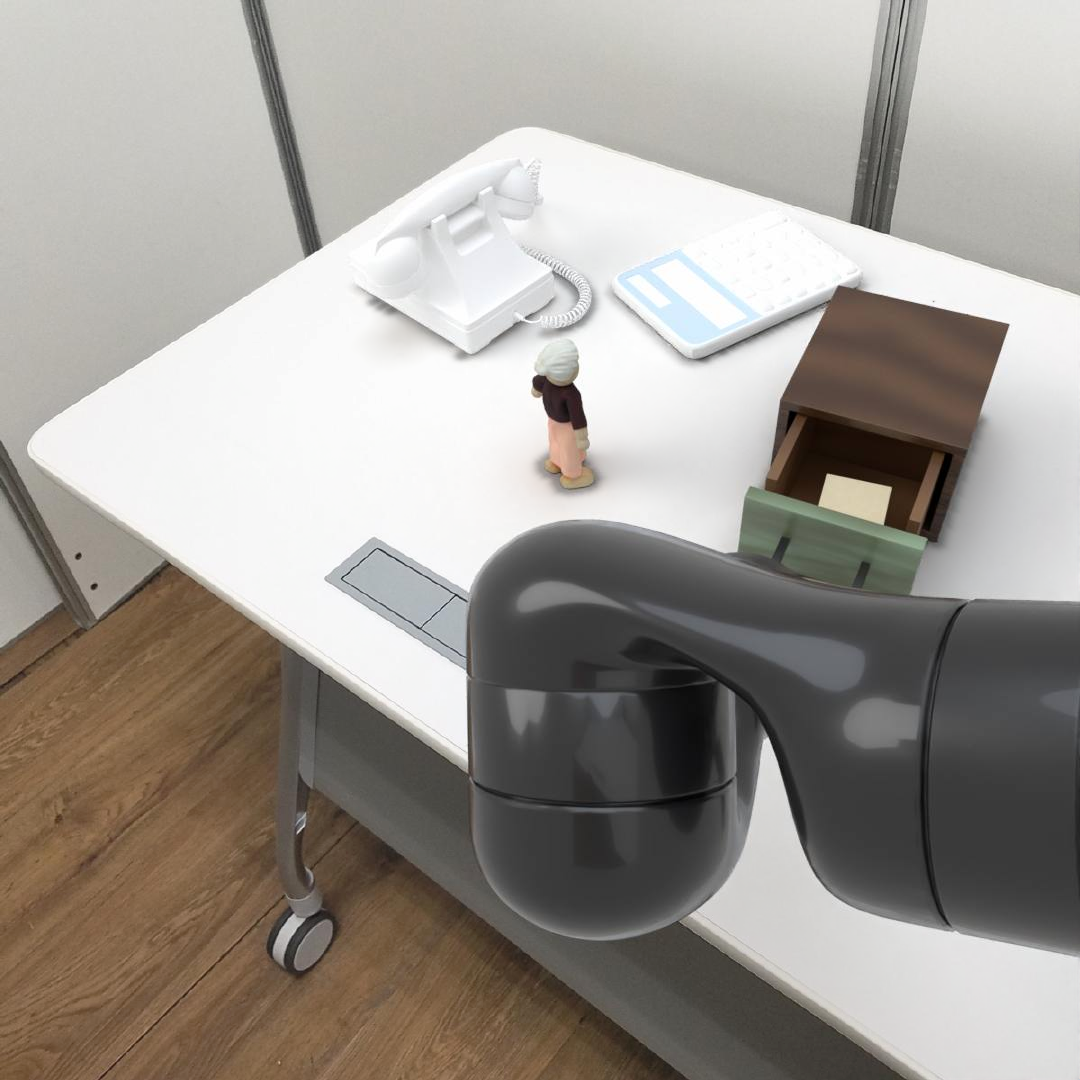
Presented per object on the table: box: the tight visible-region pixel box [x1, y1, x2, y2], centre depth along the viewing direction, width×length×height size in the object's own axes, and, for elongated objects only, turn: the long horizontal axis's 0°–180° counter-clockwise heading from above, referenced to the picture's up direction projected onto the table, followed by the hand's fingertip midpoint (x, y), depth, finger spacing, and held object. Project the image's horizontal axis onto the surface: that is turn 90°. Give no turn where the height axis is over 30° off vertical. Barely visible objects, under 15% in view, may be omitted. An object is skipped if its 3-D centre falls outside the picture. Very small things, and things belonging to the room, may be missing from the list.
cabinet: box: [769, 285, 1010, 543], centre depth 84 cm, size 15×13×10 cm
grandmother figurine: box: [530, 337, 595, 490], centre depth 84 cm, size 8×4×13 cm, turn 42°
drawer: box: [737, 413, 947, 595], centre depth 77 cm, size 18×12×8 cm
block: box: [818, 474, 892, 525], centre depth 77 cm, size 4×4×4 cm
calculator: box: [611, 210, 864, 360], centre depth 102 cm, size 13×20×2 cm, turn 121°
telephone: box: [348, 157, 593, 355], centre depth 100 cm, size 25×21×12 cm
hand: (781, 611), depth 60 cm, fingers closed
